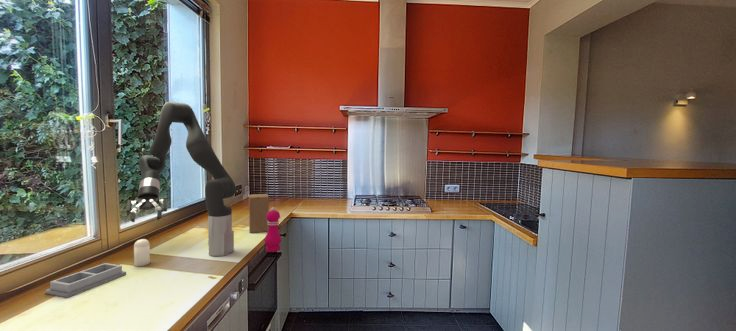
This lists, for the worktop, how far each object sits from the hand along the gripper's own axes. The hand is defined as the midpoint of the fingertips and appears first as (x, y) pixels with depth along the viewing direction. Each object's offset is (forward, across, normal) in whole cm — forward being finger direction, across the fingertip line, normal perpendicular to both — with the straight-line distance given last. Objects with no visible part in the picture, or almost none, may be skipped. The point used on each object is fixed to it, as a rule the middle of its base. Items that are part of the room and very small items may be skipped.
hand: (145, 220), depth 120 cm
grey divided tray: (+27, -13, -6) cm, 30 cm away
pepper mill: (+24, +49, -3) cm, 55 cm away
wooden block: (-1, +49, +22) cm, 54 cm away
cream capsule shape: (+19, 0, +2) cm, 19 cm away
